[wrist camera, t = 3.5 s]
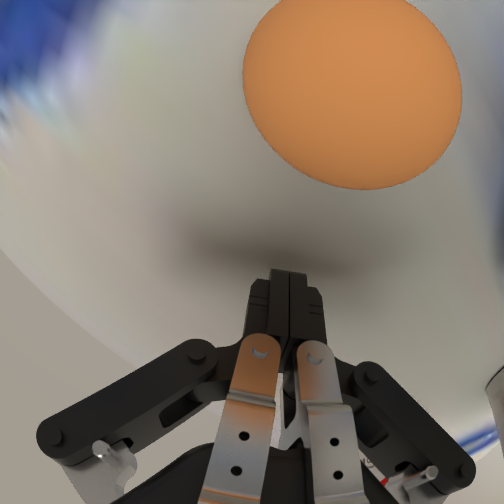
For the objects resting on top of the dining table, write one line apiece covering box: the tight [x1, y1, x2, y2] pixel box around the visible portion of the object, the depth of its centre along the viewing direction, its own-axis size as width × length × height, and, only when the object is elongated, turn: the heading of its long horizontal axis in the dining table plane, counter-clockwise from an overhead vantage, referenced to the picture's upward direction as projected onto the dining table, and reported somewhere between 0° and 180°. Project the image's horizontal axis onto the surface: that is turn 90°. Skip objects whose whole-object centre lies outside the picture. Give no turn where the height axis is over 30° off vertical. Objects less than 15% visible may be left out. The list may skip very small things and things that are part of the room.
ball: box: [243, 0, 462, 190], centre depth 7 cm, size 6×6×6 cm
